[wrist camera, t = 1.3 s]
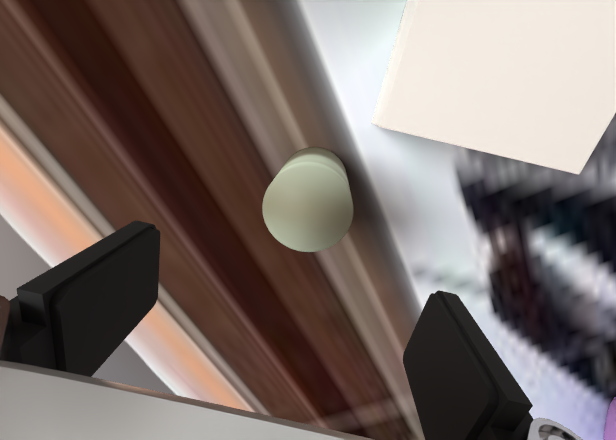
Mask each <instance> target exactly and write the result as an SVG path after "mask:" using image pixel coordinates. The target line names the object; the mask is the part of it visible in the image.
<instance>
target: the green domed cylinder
mask: <svg viewBox="0 0 616 440" xmlns="http://www.w3.org/2000/svg"><path fill="white" fill-rule="evenodd" d="M263 216H264V220H265V223H266V225H267V227H268V229H269V231H270V232H271V234H272V235H273V236H274V237H275V238H276V239H277V240H278V241H279V242H281V243H282V244H284V245H285V246H287V247H289V248H292V249H294V250H298V251H303V252H315V251H321V250H324V249H327V248H329V247H331V246H333V245H334V244H336V243H337V242H338V241H340V240H341V239H342V238H343V237H344V235H345V234H346V233H347V231H348V229H349V227H350V225H351V222H352V218H353V202H352V197H351V193H350V188H349V183H348V179H347V174H346V170H345V167H344V165H343V163H342V162H341V160H340V159H339V158H338V157H337V156H336V155H335V154H334V153H332V152H331V151H329V150H327V149H324V148H320V147H308V148H304V149H302V150H300V151H298V152H296V153H295V154H293V155H292V156H291V157H290V158H289V160H288V161H287V162H286V164H285V165H284V166H283V168H282V169H281V170H280V172H279V173H278V174H277V176H276V177H275V179H274V180H273V181H272V183H271V184H270V185H269V187H268V189H267V191H266V193H265V196H264V200H263Z"/></svg>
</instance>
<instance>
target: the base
mask: <svg viewBox="0 0 616 440" xmlns="http://www.w3.org/2000/svg"><path fill="white" fill-rule="evenodd" d="M615 113H616V0H407V2H406V5H405V9H404V12H403V16H402V19H401V22H400V26H399V29H398V33H397V36H396V40H395V43H394V47H393V50H392V53H391V57H390V60H389V64H388V67H387V71H386V74H385V78H384V81H383V85H382V88H381V91H380V95H379V98H378V102H377V105H376V109H375V112H374V116H373V119H372V122H371V123H373V124H375V125H377V126H379V127H382V128H386V129H390V130H394V131H398V132H403V133H407V134H411V135H415V136H419V137H424V138H428V139H432V140H436V141H440V142H444V143H449V144H453V145H457V146H461V147H465V148H470V149H474V150H478V151H482V152H486V153H491V154H495V155H499V156H503V157H507V158H512V159H516V160H520V161H524V162H528V163H532V164H537V165H541V166H545V167H549V168H553V169H558V170H562V171H566V172H570V173H574V174H580V172H581V171H582V169H583V167H584V165H585V164H586V162H587V160H588V159H589V157H590V155H591V154H592V152H593V150H594V148H595V147H596V145H597V143H598V142H599V140H600V138H601V137H602V135H603V133H604V132H605V130H606V128H607V126H608V125H609V123H610V121H611V120H612V118H613V116H614V115H615Z"/></svg>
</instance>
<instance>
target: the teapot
mask: <svg viewBox="0 0 616 440" xmlns="http://www.w3.org/2000/svg"><path fill="white" fill-rule="evenodd" d="M604 440H616V397H615V398H614V399H613V400H612V402H611V403H610V406H609V409H608V413H607V418H606V423H605V430H604Z"/></svg>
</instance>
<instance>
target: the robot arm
mask: <svg viewBox="0 0 616 440" xmlns="http://www.w3.org/2000/svg"><path fill="white" fill-rule="evenodd" d="M159 254H160V231H159V230H156V227H155V225H153V224H149V223H145V222H140V221H133V222H132V223H130V224H128V225H126V226H125V227H123V228H121V229H119V230H118V231H116V232H114V233H113V234H111V235H109V236H107V237H106V238H104V239H102V240H100V241H99V242H97V243H95V244H93V245H92V246H90V247H88V248H86V249H85V250H83V251H81V252H80V253H78V254H76V255H74V256H73V257H71V258H69V259H67V260H66V261H64V262H62V263H60V264H59V265H57V266H55V267H53V268H52V269H50V270H48V271H47V272H45V273H43V274H41V275H40V276H38V277H36V278H34V279H33V280H31V281H29V282H27V283H26V284H24V285H22V286H21V287H19V288H17V294H18V296H16V297H15V298H13V299H11V300H10V301H8V299H6V298H5V297H3V296H0V440H373V439H369V438H365V437H360V436H356V435H352V434H347V433H343V432H339V431H334V430H330V429H325V428H321V427H316V426H312V425H308V424H303V423H299V422H294V421H290V420H285V419H281V418H276V417H272V416H267V415H263V414H258V413H254V412H249V411H245V410H240V409H236V408H231V407H227V406H222V405H218V404H213V403H209V402H204V401H200V400H195V399H190V398H186V397H181V396H177V395H172V394H167V393H163V392H158V391H153V390H149V389H144V388H139V387H135V386H130V385H125V384H121V383H116V382H112V381H107V380H103V379H98V378H93V377H91V376H92V375H93V374H94V373H95V372H96V371H97V370H98V368H99V367H100V366H101V365H102V364H103V363H104V362H105V361H106V359H107V358H108V357H109V356H110V355H111V354H112V353H113V352H114V350H115V349H116V348H117V347H118V346H119V345H120V344H121V343H122V341H123V340H124V339H125V338H126V337H127V336H128V335H129V334H130V332H131V331H132V330H133V329H134V328H135V327H136V326H137V325H138V323H139V322H140V321H141V320H142V319H143V318H144V317H145V316H146V314H147V313H148V312H149V311H150V310H151V309H152V308H153V306H154V305H155V303H156V301H157V298H158V279H159ZM403 364H404V367H405V371H406V374H407V378H408V381H409V385H410V388H411V391H412V395H413V398H414V402H415V405H416V409H417V412H418V416H419V419H420V423H421V426H422V430H423V433H424V436H425V440H583V439H581V438H580V437H579V436H577V435H576V434H575V433H573V432H572V431H571V430H569V429H568V428H566V427H564V426H563V425H561V424H559V423H557V422H554V421H552V420H549V419H545V418H537V419H533V418H532V416H531V415H530V413H529V410H530V409H531V408H532V406H533V405H532V404H531V402H530V401H529V399H528V398H527V396H526V395H525V393H524V392H523V390H522V389H521V387H520V386H519V385H518V383H517V382H516V380H515V379H514V377H513V376H512V374H511V373H510V371H509V370H508V368H507V367H506V366H505V364H504V363H503V361H502V360H501V358H500V357H499V355H498V354H497V352H496V351H495V349H494V348H493V347H492V345H491V344H490V342H489V341H488V339H487V338H486V336H485V335H484V333H483V332H482V330H481V329H480V328H479V326H478V325H477V323H476V322H475V320H474V319H473V317H472V316H471V314H470V313H469V311H468V310H467V309H466V307H465V306H464V304H463V303H462V301H461V300H460V298H459V297H458V296H457V295H456V294H452V293H448V292H443V291H437V292H436V293H435V294H433V293H432V294H431V295H430V296H429V298H428V300H427V302H426V304H425V307H424V309H423V311H422V313H421V316H420V318H419V320H418V322H417V324H416V327H415V329H414V331H413V333H412V336H411V338H410V340H409V342H408V344H407V347H406V349H405V351H404V355H403Z"/></svg>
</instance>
